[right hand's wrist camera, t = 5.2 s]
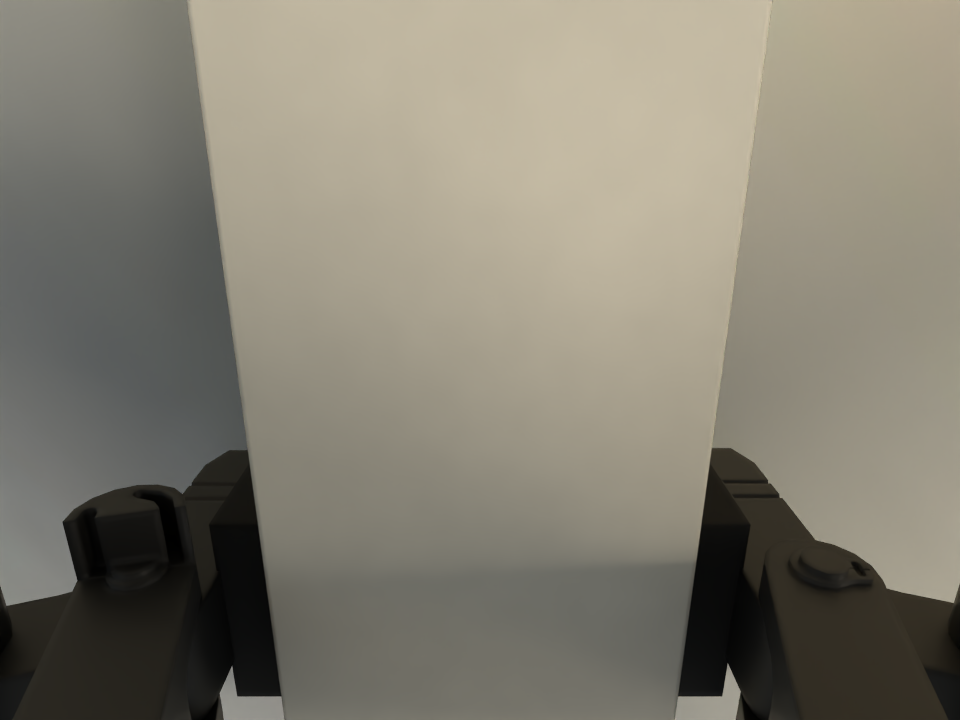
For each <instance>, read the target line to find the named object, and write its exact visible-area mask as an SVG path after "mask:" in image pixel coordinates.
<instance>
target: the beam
mask: <svg viewBox="0 0 960 720" xmlns="http://www.w3.org/2000/svg"><path fill="white" fill-rule="evenodd" d="M186 1H187V8H188V15H189V23H190V30H191V37H192V45H193V52H194V59H195V67H196V74H197V81H198V89H199V96H200V103H201V111H202V118H203V125H204V133H205V140H206V147H207V155H208V162H209V169H210V177H211V184H212V191H213V199H214V206H215V213H216V221H217V228H218V235H219V242H220V250H221V257H222V264H223V272H224V279H225V286H226V294H227V301H228V308H229V316H230V323H231V330H232V338H233V345H234V352H235V360H236V367H237V374H238V382H239V389H240V396H241V404H242V411H243V418H244V426H245V433H246V440H247V448H248V455H249V462H250V470H251V477H252V484H253V492H254V499H255V506H256V513H257V521H258V528H259V535H260V543H261V550H262V557H263V565H264V572H265V579H266V587H267V594H268V601H269V609H270V616H271V623H272V631H273V638H274V645H275V653H276V660H277V667H278V675H279V682H280V689H281V697H282V704H283V711H284V719H285V720H675V714H676V707H677V699H678V692H679V685H680V677H681V670H682V663H683V655H684V648H685V641H686V633H687V626H688V619H689V611H690V604H691V597H692V589H693V582H694V575H695V567H696V560H697V553H698V545H699V538H700V531H701V523H702V516H703V509H704V501H705V494H706V487H707V479H708V472H709V464H710V457H711V450H712V442H713V435H714V428H715V420H716V413H717V406H718V398H719V391H720V384H721V376H722V369H723V362H724V354H725V347H726V340H727V332H728V325H729V318H730V310H731V303H732V296H733V288H734V281H735V274H736V266H737V259H738V252H739V244H740V237H741V230H742V222H743V215H744V207H745V200H746V193H747V185H748V178H749V171H750V163H751V156H752V149H753V141H754V134H755V127H756V119H757V112H758V105H759V97H760V90H761V83H762V75H763V68H764V61H765V53H766V46H767V39H768V31H769V24H770V17H771V9H772V2H773V0H186Z"/></svg>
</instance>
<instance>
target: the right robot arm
mask: <svg viewBox="0 0 960 720" xmlns="http://www.w3.org/2000/svg"><path fill="white" fill-rule="evenodd" d="M63 526H64V530H65V533H66V537H67V541H68V545H69V549H70V553H71V557H72V561H73V565H74V569H75V572H76V576H77V580H78V581H77V583H76V585H75V587H74V589H73V592H70V593H66V594H62V595H58V596H53V597H49V598H44V599H39V600H34V601H29V602H24V603H19V604H14V605H9V606H6V603H5V600H4V597H3V593H2V590H1V587H0V720H224V718H223V711H222V705H221V699H220V694H219V693H220V691H221V689H222V687H223V684H224V682H225V680H226V678H227V675H228V673H229V671H230V669H231V667H233V673H234V679H235V685H236V691H237V696H281V689H280V682H279V675H278V667H277V660H276V653H275V645H274V638H273V631H272V623H271V616H270V609H269V601H268V594H267V587H266V579H265V572H264V565H263V557H262V550H261V543H260V535H259V528H258V521H257V513H256V506H255V499H254V492H253V484H252V477H251V470H250V462H249V455H248V450H229V451H227V452H226V453H224V454H223V455H221V456H219V457H218V458H216V459H215V460H213V461H211V462H210V463H208V464H207V465H205V466H204V468H203V469H202V470H201V472H200V473H199V474H198V475H197V477H196V478H195V479H194V480H193V482H192V486H189V487H188V488H187V489H186V491H185V492H184V493H183V494H181V493H180V492H179V491H178V490H176V489H175V488H171V487H167V486H162V485H136V486H131V487H127V488H122V489H117V490H113V491H110V492H108V493H105V494H103V495H100V496H97V497H95V498H92V499H90V500H89V501H87V502H85V503H84V504H82V505H81V506H79V507H77V508H76V509H74V510H73V511H72V512H71V513H70V514H69V515H68V516H67V518H66V519H65V520H64V521H63ZM727 664H729V666H730V669H731V671H732V673H733V675H734V677H735V680H736V682H737V684H738V686H739V688H740V691H741V694H740V699H739V705H738V710H737V716H736V720H960V585H959V588H958V591H957V595H956V598H955V601H954V603H951V602H946V601H941V600H936V599H931V598H926V597H921V596H916V595H911V594H906V593H901V592H898V591H894V590H890V589H887V588H886V586H885V584H884V582H883V580H882V579H881V577H880V576H879V575H878V573H877V572H876V571H875V570H874V568H873V567H872V566H871V565H870V564H868V563H867V562H865V561H864V560H862V559H861V558H860V557H858V556H857V555H855V554H854V553H851V552H849V551H847V550H844V549H842V548H840V547H838V546H835V545H833V544H828V543H824V542H820V541H816V540H815V539H814V538H813V536H812V535H811V534H810V533H809V531H808V530H807V529H806V528H805V526H804V525H803V524H802V523H801V521H800V520H799V519H798V517H797V516H796V515H795V514H794V512H793V511H792V510H791V509H790V507H789V506H788V505H787V504H786V502H785V501H784V500H783V498H779V493H778V492H777V491H776V490H775V488H774V487H773V486H772V485H771V484H768V480H767V478H766V477H765V476H764V474H763V473H762V472H761V471H760V469H759V468H758V467H757V466H756V464H755V463H754V462H752V461H750V460H749V459H747V458H746V457H744V456H742V455H741V454H739V453H738V452H736V451H734V450H733V449H731V448H712V450H711V457H710V464H709V472H708V479H707V487H706V494H705V501H704V509H703V516H702V523H701V531H700V538H699V545H698V553H697V560H696V567H695V575H694V582H693V589H692V597H691V604H690V611H689V619H688V626H687V633H686V641H685V648H684V655H683V663H682V670H681V677H680V685H679V692H678V696H722V694H723V688H724V682H725V676H726V670H727Z"/></svg>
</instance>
